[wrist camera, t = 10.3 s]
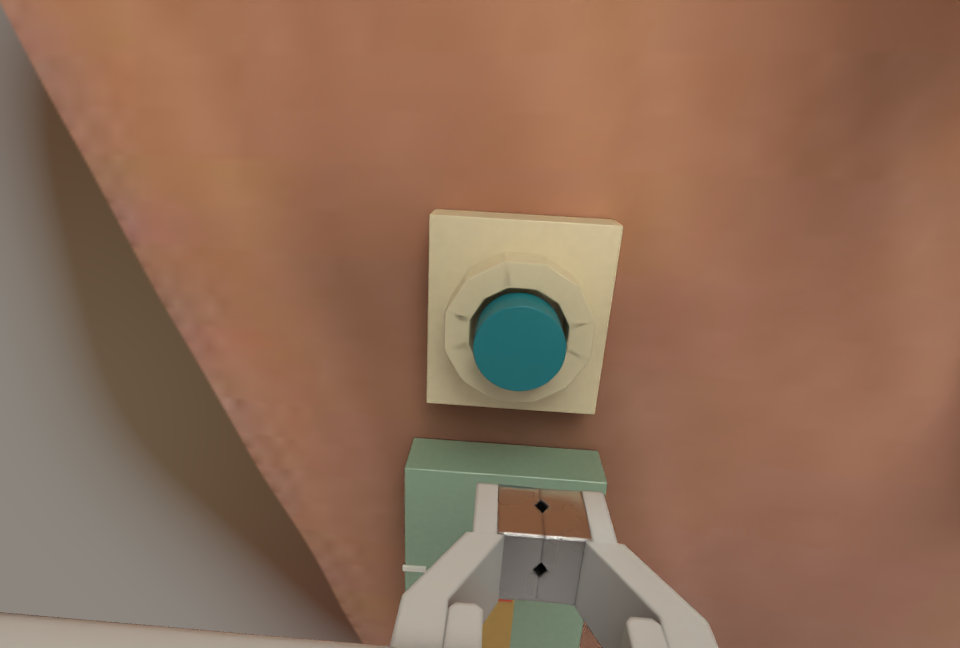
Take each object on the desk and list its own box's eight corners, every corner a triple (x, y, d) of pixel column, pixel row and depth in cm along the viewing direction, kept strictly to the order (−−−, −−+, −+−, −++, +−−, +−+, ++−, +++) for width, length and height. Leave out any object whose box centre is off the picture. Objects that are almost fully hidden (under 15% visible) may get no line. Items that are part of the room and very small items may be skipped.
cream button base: (588, 396, 28) (601, 436, 24) (431, 386, 28) (420, 423, 24) (614, 219, 24) (634, 233, 21) (434, 208, 25) (422, 220, 21)
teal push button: (556, 374, 24) (561, 394, 22) (473, 368, 24) (470, 388, 22) (566, 294, 22) (571, 309, 20) (477, 289, 22) (475, 302, 20)
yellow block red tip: (506, 619, 30) (507, 681, 27) (480, 616, 30) (477, 679, 27) (515, 528, 28) (516, 584, 24) (486, 526, 28) (484, 582, 24)
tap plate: (411, 608, 34) (402, 652, 31) (412, 436, 29) (401, 469, 27) (572, 621, 34) (578, 666, 31) (599, 450, 29) (610, 484, 26)
